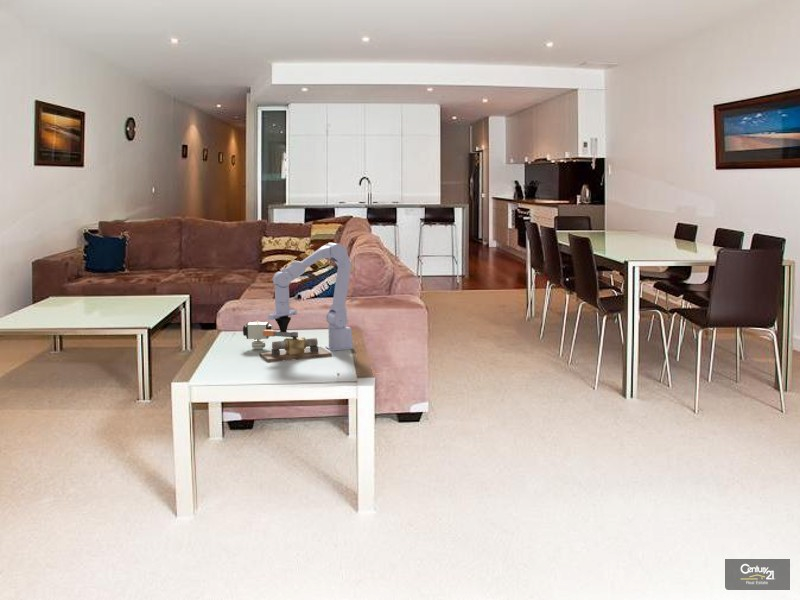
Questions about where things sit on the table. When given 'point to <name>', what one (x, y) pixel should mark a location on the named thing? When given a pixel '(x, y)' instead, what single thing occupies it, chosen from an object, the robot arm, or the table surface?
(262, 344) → the pneumatic valve
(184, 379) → the table surface
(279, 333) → the valve lever
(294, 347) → the ball valve
